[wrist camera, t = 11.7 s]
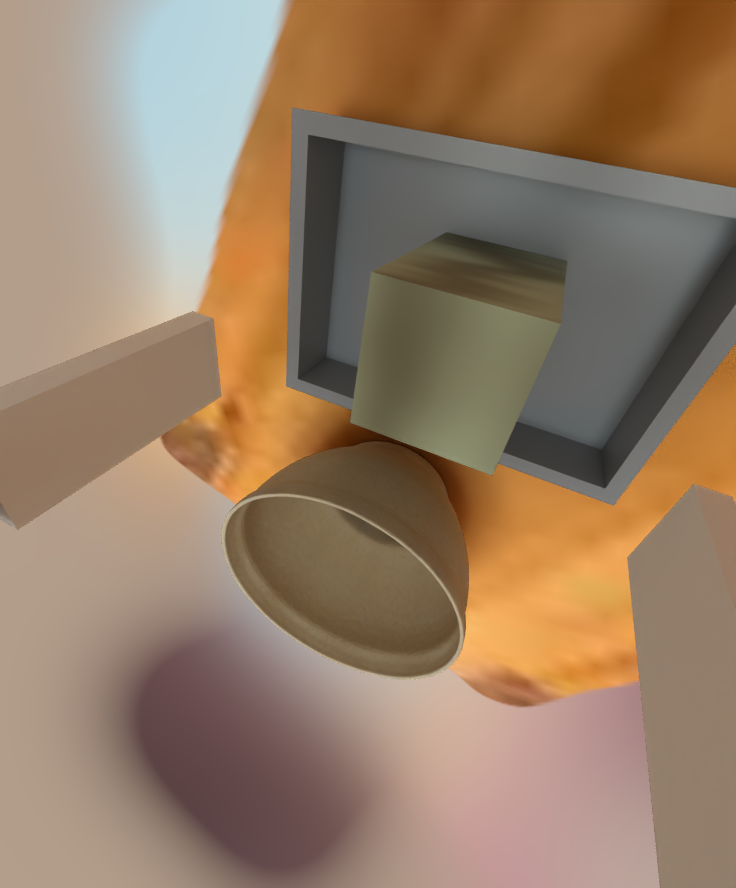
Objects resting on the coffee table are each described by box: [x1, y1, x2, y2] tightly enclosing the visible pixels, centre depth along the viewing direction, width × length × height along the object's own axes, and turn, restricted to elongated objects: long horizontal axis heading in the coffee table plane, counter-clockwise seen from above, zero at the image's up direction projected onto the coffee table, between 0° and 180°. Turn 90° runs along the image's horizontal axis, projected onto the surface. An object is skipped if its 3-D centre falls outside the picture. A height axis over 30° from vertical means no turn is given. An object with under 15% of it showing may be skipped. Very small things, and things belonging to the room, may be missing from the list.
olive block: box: [350, 232, 567, 475], centre depth 18 cm, size 6×6×10 cm
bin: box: [286, 108, 736, 506], centre depth 21 cm, size 20×14×4 cm
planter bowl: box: [221, 441, 469, 680], centre depth 29 cm, size 16×16×11 cm
